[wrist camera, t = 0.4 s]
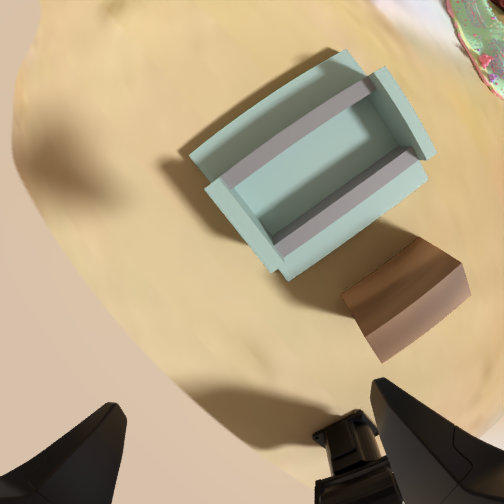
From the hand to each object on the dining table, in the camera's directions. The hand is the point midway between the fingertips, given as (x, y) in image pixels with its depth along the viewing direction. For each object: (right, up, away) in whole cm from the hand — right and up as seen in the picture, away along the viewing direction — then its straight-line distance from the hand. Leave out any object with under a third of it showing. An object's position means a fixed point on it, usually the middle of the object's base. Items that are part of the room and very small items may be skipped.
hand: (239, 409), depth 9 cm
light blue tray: (+5, +11, +10) cm, 16 cm away
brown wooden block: (+11, +3, +13) cm, 18 cm away
